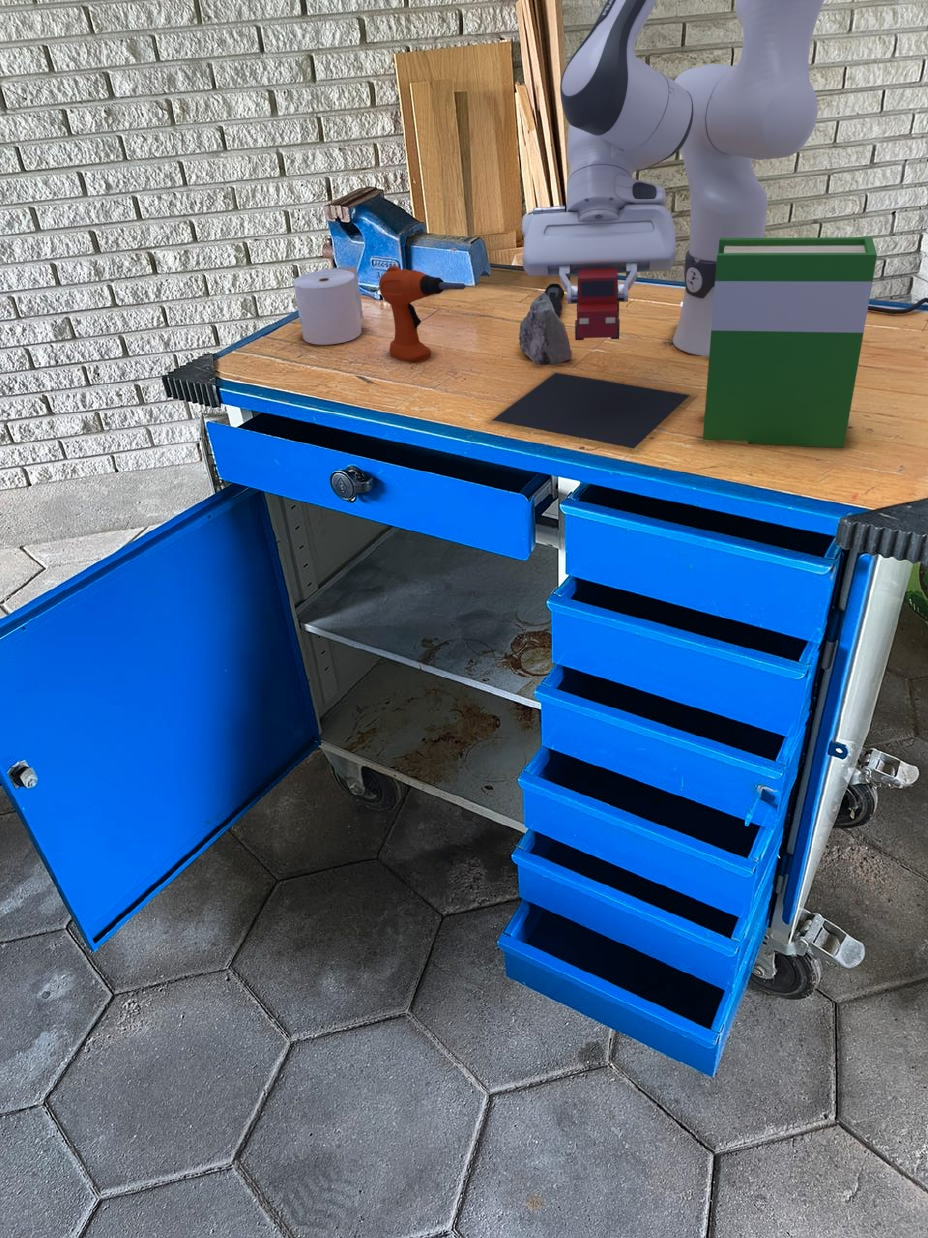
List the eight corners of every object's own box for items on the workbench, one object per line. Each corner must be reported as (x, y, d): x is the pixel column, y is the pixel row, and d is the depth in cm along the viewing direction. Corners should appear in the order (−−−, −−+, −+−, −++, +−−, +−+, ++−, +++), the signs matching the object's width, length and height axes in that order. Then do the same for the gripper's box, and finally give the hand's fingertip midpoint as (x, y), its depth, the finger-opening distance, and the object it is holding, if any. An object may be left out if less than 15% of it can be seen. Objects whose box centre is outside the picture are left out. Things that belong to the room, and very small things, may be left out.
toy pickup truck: (577, 313, 137) (577, 255, 133) (618, 311, 136) (619, 253, 132) (574, 346, 127) (574, 284, 122) (619, 344, 126) (620, 283, 121)
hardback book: (702, 441, 127) (717, 255, 113) (705, 418, 133) (719, 238, 119) (843, 447, 123) (877, 254, 109) (840, 423, 129) (871, 236, 115)
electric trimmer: (538, 326, 168) (538, 308, 166) (544, 297, 181) (544, 279, 179) (560, 326, 168) (560, 308, 166) (564, 296, 180) (564, 279, 178)
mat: (555, 374, 150) (555, 372, 149) (689, 397, 139) (689, 394, 139) (491, 422, 137) (491, 419, 137) (633, 450, 127) (633, 448, 126)
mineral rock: (526, 336, 164) (523, 276, 158) (587, 339, 161) (587, 278, 155) (502, 364, 155) (499, 302, 149) (567, 368, 151) (567, 304, 145)
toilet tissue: (297, 347, 168) (287, 289, 163) (310, 323, 178) (301, 268, 172) (357, 344, 167) (349, 285, 162) (367, 320, 177) (359, 265, 171)
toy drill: (466, 369, 150) (450, 270, 143) (385, 360, 162) (365, 269, 155) (486, 359, 153) (471, 262, 145) (405, 351, 165) (387, 261, 158)
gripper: (520, 194, 128) (517, 292, 126) (677, 186, 125) (677, 286, 123) (523, 221, 134) (521, 314, 132) (673, 213, 131) (673, 309, 129)
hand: (597, 300), depth 127 cm, fingers closed on toy pickup truck, 5 cm apart
